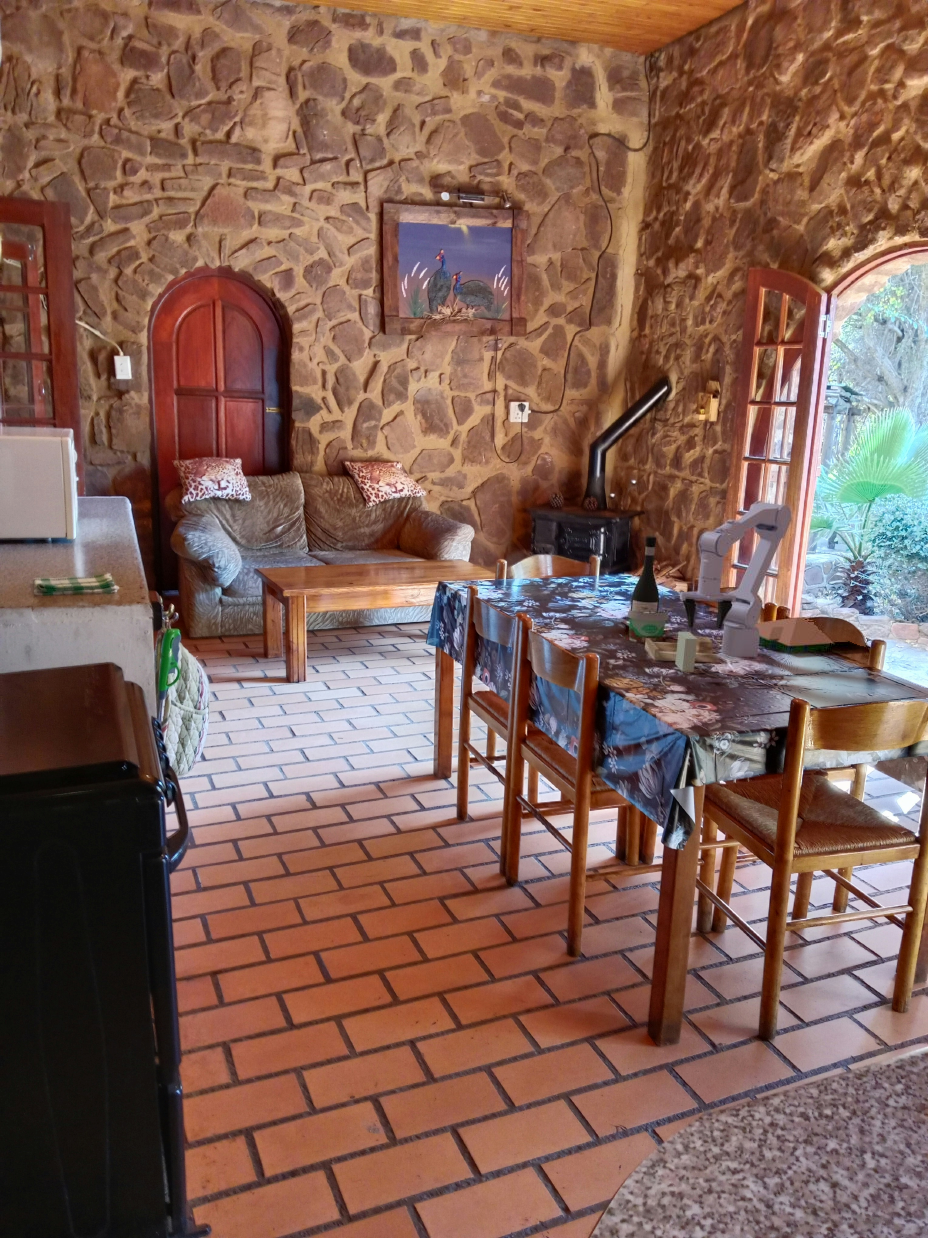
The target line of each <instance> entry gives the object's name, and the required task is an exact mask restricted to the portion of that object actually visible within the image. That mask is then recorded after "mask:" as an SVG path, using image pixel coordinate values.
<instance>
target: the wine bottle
mask: <svg viewBox="0 0 928 1238" xmlns="http://www.w3.org/2000/svg"><path fill="white" fill-rule="evenodd" d="M656 543H657V536H652V535H648V536H645V552H644V562H643V567H642V568H643V569H642V572H641V575H640V576H639V578H638V580H637V583H636V585H635V587H634V589H633V592H632V594H631V595H632V596H631V602H630V603H631V604H630V610H632V611H636V612H643V611H653V612H659V606H660V605H659V604H660V594H659V588H658V585H657V581H656V578H655V574H654V573H655V572H654V561H655V560H654V559H655V552H656V551H655V550H656Z"/></svg>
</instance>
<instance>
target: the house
mask: <svg viewBox="0 0 928 1238" xmlns="http://www.w3.org/2000/svg"><path fill="white" fill-rule="evenodd" d="M805 619H807V620H805ZM809 619H810V618H808V617H805V616H800V617H799V616H798V617H791V618H785V619H776V620H772V621H771V620H770V621H762V622H757V623H756V624H755V626H756V627H757V628H758V630H759V644H760V645H763V647H765V646H766V647H767V648H768V649H769V648H770V649H772V650H774V649H775V648H776V649H778V650H780V651H781V650H782V652H783V651H784V652H787V654H788V653H789V654H790V653H792V654H793V653H794V652H795V651H799V650H800V651H799V653H802V652H803V653H804V652H805V653H806V652H807V651H810V652H811V650H813V651H816V650H818V647H820V648H822V650H825V649H826V650H827V648H828V646H825V645H830V643H831V644H834V643H833V642H832V641H831V640H830V639H829V638H828V637H827V636H826V635H825V634H824V633H822V631H821V630H819V629H818V627H817V626H816V625H814V622H808V621H814V620H813V619H811V620H809ZM866 639H867V641H866V643H867V642H868V643H869V641H870V642H872V641H873V639H871V638H869V637H866ZM768 641H769V642H768ZM763 643H765V644H763ZM773 643H775V645H773ZM816 645H818V647H816ZM822 645H823V646H822ZM772 646H773V647H772ZM782 646H783V647H782ZM784 646H785V648H784ZM807 646H809V647H808V648H806V647H807ZM824 646H825V647H824ZM766 647H765V648H766ZM786 647H787V649H786ZM791 647H792V648H791ZM793 647H794V648H793ZM795 647H796V648H795ZM780 648H781V649H780ZM790 648H791V649H790ZM824 648H825V649H824ZM801 650H802V651H801ZM792 651H793V652H792Z"/></svg>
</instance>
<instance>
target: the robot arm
mask: <svg viewBox="0 0 928 1238" xmlns="http://www.w3.org/2000/svg"><path fill="white" fill-rule="evenodd" d="M792 520H793V519H792V511H791V508H790V506H789V505H786V504H777V503H770V502H764V501H761V500H757V501H755V502H754V503H752V504H751V505H750V507H749V510H748V511H747V512H745V514H742V516H740V517H739V518H738V519H737V520H736V519H727V520H726V522H725V523H724V524H722V525H721V526H718V527H716V528H715V529H714V530H713V531H705V532H703V533H702V534H701V535H700V537H699V539H698V542H697V547H698V550H699V556H698V557H699V559H700V566H699V574H698V575H699V577H698V584H697V590H696V591H680V594H679V600H681V601H682V603H683V606H684V609H685V612H686V616H687V626H688V627H689V628H691V629H692V628H693V627H694V621H695V620H694V618H695V612H696V609H697V603H695V601H699V602H701V601H702V602H703V601H704V602H717V616H716V623H715V626H716V628H717V629H719V630H721V629H722V627H723V633H722V642H721V643H722V644H721V650H720V652H721V654H723V655H725V656H728V657H734V658H735V657H736V658H743V657H744V658H746V657H749V658H753V657H755V658H757V657H758V653H759V638H760V637H759V630H758V628H757V627H756V626H755V624H756V623H759V622H758V621H759V619H760V613H761V610H762V607H763V605H762V602H761V601H760V599H759V598H758V593H759V591H760V588H761V587H762V584H763V581H764V579H765V577H766V574H767V573H768V571H769V568H770V566H771V564H772V561H773V559H774V556H775V554H776V552H777V550H778V547H779V545H780V544H781V543H780V542H781V540H782V539H784V538H785V536H786V533H787V531H788V529H789V526H790V524H791V522H792ZM752 528H754V532H755V533H756V535H758V536H759V541H758V543H757V545H756V548H755V550H754V552H753V554H752V557H751V559H750V562H749V563H748V566H747V568H746V570H745V573H744V575H743V577H742V579H741V581H740V584H739V587H738V588H737V589H735V590H732V591H730V592H728V593H724V592H721V584H722V576H723V568H724V567H723V566H724V560H725V558H724V557H725V555H728V554H729V553H728V552H729V551H730V548H732V546H733V544H735V543H737V542H738V541H740V540H742V538H743V537H744V536H745V532H746V531H748V530H750V529H752Z"/></svg>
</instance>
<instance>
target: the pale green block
mask: <svg viewBox="0 0 928 1238" xmlns="http://www.w3.org/2000/svg"><path fill="white" fill-rule="evenodd" d="M677 635H678V636H677V642H676V643H677V652H676V661H674V662H675V665H676V666H677V668H678V669H679V670H680V671H681V672H685V673H686V672H687V673H688V672H689V673H691V672H692V673H693V672H695V662H696V661H695V654H696V645H697V638H696V637H697V636H695V635H694V634H692V633H691V632H690V631H678V634H677Z"/></svg>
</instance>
